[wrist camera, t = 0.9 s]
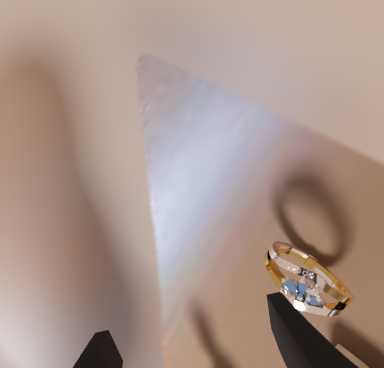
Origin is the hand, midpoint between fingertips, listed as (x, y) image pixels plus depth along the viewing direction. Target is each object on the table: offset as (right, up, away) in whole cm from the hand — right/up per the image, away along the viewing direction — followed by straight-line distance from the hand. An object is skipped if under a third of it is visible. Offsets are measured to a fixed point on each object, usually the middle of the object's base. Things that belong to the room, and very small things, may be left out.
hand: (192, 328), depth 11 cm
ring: (+12, -1, +13) cm, 17 cm away
